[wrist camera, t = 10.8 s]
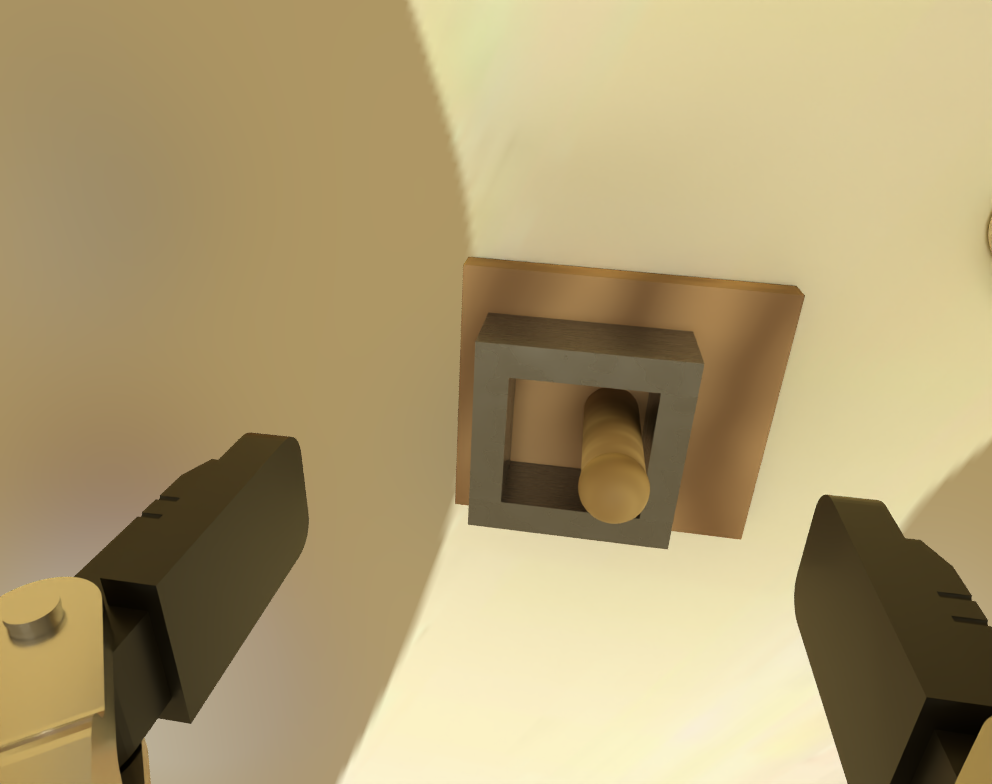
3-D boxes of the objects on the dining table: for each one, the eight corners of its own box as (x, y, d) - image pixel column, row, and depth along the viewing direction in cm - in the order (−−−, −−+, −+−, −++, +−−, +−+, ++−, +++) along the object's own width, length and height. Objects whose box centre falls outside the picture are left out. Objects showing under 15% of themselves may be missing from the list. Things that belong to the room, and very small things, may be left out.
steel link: (693, 331, 33) (704, 363, 30) (661, 502, 37) (667, 549, 34) (488, 312, 34) (475, 341, 31) (480, 481, 38) (468, 524, 35)
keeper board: (796, 286, 33) (871, 371, 24) (736, 523, 39) (777, 662, 30) (468, 256, 35) (421, 326, 25) (459, 489, 41) (419, 611, 32)
